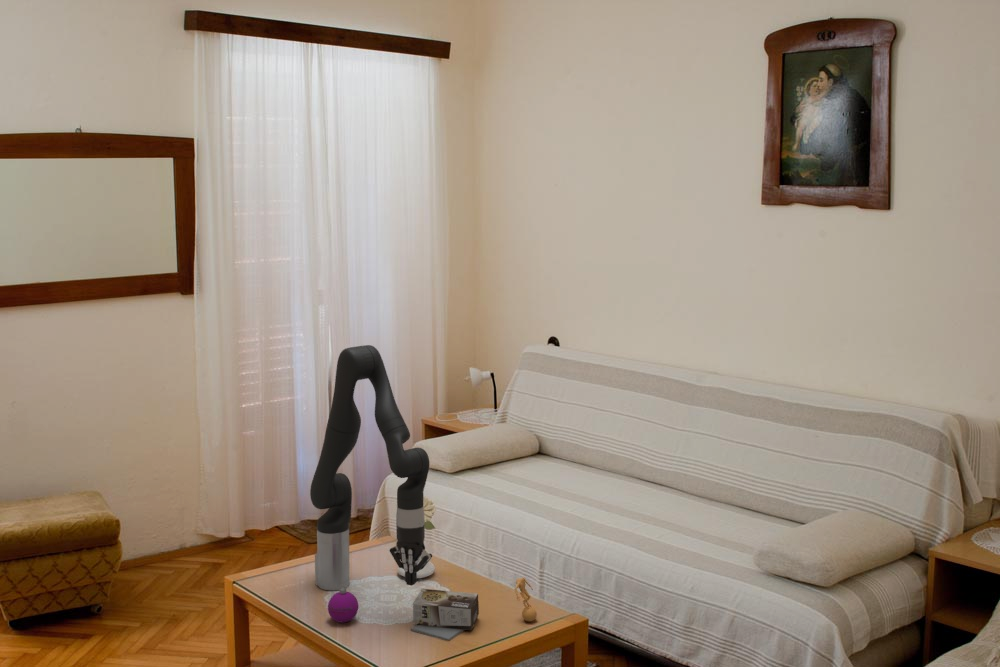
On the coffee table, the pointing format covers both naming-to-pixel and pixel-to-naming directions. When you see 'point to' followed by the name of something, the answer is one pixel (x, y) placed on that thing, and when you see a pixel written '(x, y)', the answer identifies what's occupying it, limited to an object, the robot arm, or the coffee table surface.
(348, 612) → the christmas ornament
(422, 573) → the flower in vase
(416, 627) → the slate mat
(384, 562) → the coffee table surface
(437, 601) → the coffee box
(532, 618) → the figurine
